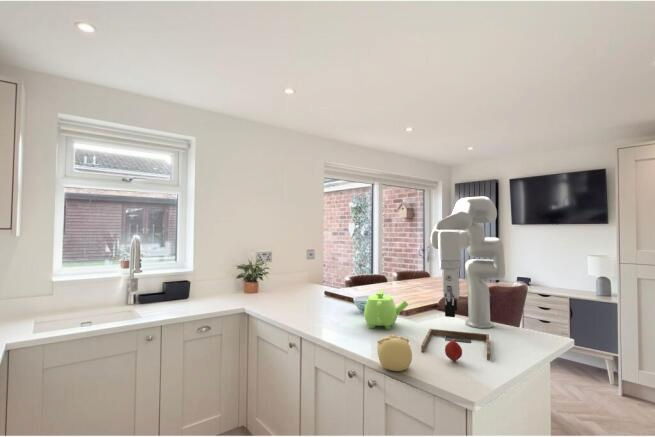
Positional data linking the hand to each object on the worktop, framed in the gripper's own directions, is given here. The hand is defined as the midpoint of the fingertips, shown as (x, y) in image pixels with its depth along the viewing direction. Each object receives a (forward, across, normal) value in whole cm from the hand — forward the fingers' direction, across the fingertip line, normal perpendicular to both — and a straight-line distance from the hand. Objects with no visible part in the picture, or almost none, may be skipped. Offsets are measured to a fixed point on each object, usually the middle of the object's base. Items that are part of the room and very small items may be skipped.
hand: (451, 313), depth 123 cm
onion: (+18, +1, 0) cm, 18 cm away
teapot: (+17, +39, +34) cm, 54 cm away
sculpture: (+18, -11, +18) cm, 27 cm away
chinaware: (+17, +60, +51) cm, 80 cm away
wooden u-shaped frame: (+17, +18, 0) cm, 25 cm away
